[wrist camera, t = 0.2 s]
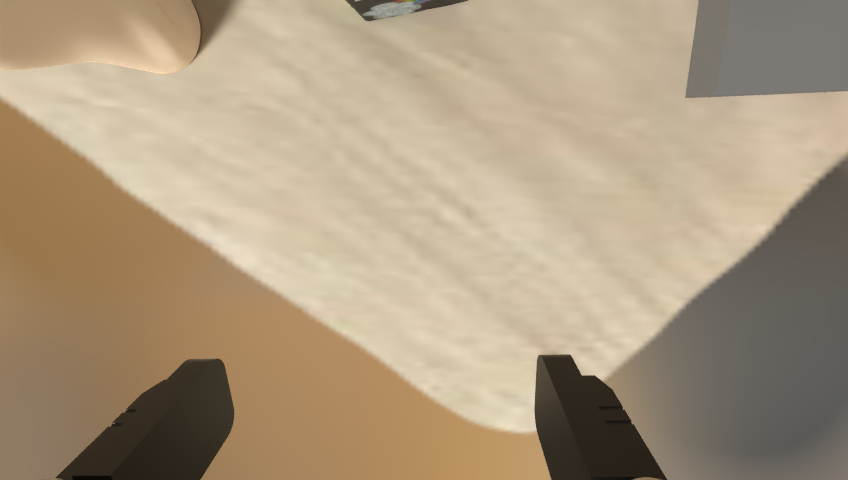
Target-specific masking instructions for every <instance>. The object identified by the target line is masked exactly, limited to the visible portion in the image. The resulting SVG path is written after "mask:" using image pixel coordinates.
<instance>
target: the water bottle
mask: <svg viewBox="0 0 848 480" xmlns="http://www.w3.org/2000/svg"><path fill="white" fill-rule="evenodd" d="M200 36H201V30H200V22H199V18H198V15H197V12H196V9H195V7H194V5H193V3H192V1H191V0H0V70H26V69H35V68H44V67H52V66H58V65H65V64H72V63H79V62H101V63H109V64H114V65H119V66H125V67H130V68H135V69H140V70H145V71H150V72H155V73H163V74H164V73H172V72H176V71H178V70H181V69H183V68H184V67H186V66H187V65H189V64H190V63H191V62H192V61H193V59H194V57H195V56H196V54H197V51H198V48H199V43H200Z"/></svg>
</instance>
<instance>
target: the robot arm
mask: <svg viewBox="0 0 848 480" xmlns="http://www.w3.org/2000/svg"><path fill="white" fill-rule="evenodd" d="M233 420H234V407H233V402H232V397H231V393H230V388H229V384H228V379H227V375H226V370H225V366H224V363H223V362H222V361H221V360H220V359H189V360H186V361H185V362H184V363H183V364H182V365H181V366H180V367H179V368H178V369H177V370H176V371H175V372H174V373H173V374H172V375H171V376H170V377H169V378H168V379H167V380H163V381H162V382H160V383H158V384H157V385H155V386H154V387H152V388H150V389H149V390H147V391H146V392H144V393H142V394H141V395H140V396H139V397H138V398H137V399H136V400H135V401H134V402H133V403H132V404H131V405H130V406H129V407H128V408H127V409H126V412H125V413H122V414H121V415H120V416H119V417H118V418H117V419H116V420H115V421H114V422H112V426H111V427H107V428H106V429H105V430H104V431H103V432H102V433H101V434H100V435H99V436H98V437H97V438H96V439H95V440H94V441H93V442H92V443H91V444H90V445H89V446H88V447H87V448H86V449H85V450H84V451H83V452H82V453H81V454H80V455H79V456H78V457H77V458H75V459H74V460H73V462H71V463H70V464H69V465H68V466H67V467H66V468H65V469H64V470H63V471H62V472H61V473H60V474H59V475H58V476H57V477H56V478H48V479H42V480H200V479H201V478H202V476H203V475H204V473H205V471H206V470H207V468H208V467H209V465H210V464H211V462H212V460H213V459H214V457H215V456H216V454H217V453H218V451H219V449H220V448H221V446H222V445H223V443H224V442H225V440H226V439H227V437H228V435H229V433H230V431H231V428H232V425H233ZM535 421H536V428H537V433H538V436H539V440H540V443H541V446H542V450H543V453H544V456H545V460H546V463H547V466H548V470H549V473H550V476H551V479H552V480H667V479H666V477H665V475H664V474H663V472H662V470H661V469H660V467H659V466H658V464H657V463H656V461H655V459H654V457H653V456H652V454H651V453H650V451H649V449H648V448H647V446H646V444H645V443H644V441H643V439H642V438H641V436H640V434H639V433H638V431H637V429H636V428H635V426H634V425H632V423H631V420H630V418H629V416H628V415H627V413H626V412H625V410H623V407H622V405H621V403H620V401H619V400H618V398H617V397H616V395H615V393H614V392H613V390H612V389H611V388H610V387H608V386H607V385H606V384H605V383H603V382H602V381H601V380H600V379H598V378H597V377H596V376H582V375H581V373H580V371H579V369H578V368H577V366H576V364H575V362H574V360H573V358H572V357H571V355H539V356H538V359H537V371H536V390H535Z"/></svg>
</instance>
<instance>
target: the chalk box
mask: <svg viewBox="0 0 848 480" xmlns="http://www.w3.org/2000/svg"><path fill="white" fill-rule="evenodd" d="M464 1H468V0H346V2H347V3H348V4H350V5H351V7H352V8H354V9H355V10H356V12H357V13H358V14H359V15H360V16H362V17H363V18H364V19H365V21H372V20H377V19H383V18H388V17H393V16H398V15H403V14H408V13H413V12H418V11H422V10H426V9H432V8H437V7H443V6H448V5H452V4H456V3H460V2H464Z"/></svg>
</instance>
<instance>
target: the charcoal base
mask: <svg viewBox="0 0 848 480" xmlns="http://www.w3.org/2000/svg"><path fill="white" fill-rule="evenodd" d="M836 91H848V0H699V5H698V12H697V20H696V27H695V34H694V41H693V48H692V55H691V62H690V69H689V76H688V83H687V90H686V97H685V98H695V97H722V96H745V95H767V94H790V93H813V92H836Z"/></svg>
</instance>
